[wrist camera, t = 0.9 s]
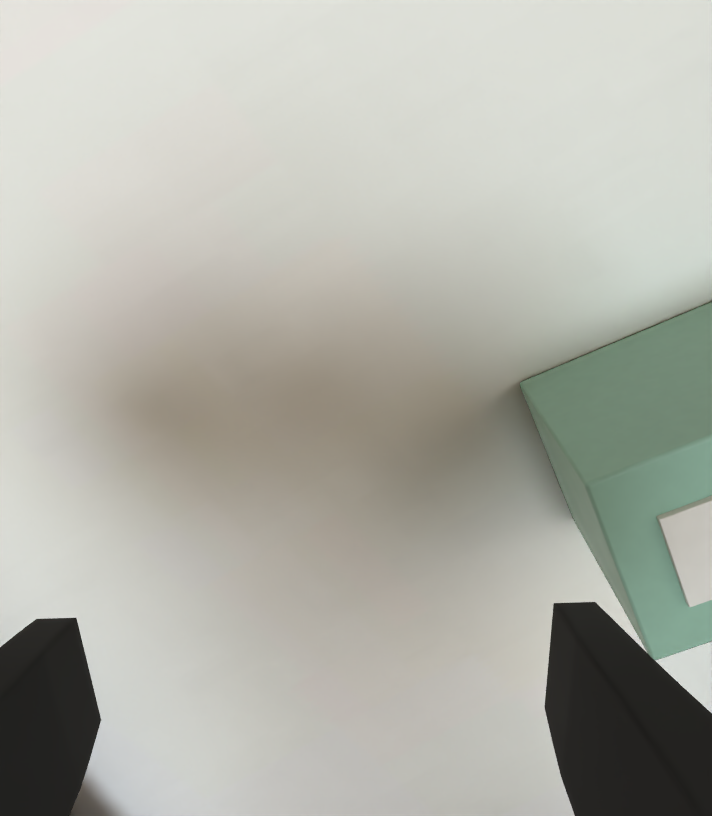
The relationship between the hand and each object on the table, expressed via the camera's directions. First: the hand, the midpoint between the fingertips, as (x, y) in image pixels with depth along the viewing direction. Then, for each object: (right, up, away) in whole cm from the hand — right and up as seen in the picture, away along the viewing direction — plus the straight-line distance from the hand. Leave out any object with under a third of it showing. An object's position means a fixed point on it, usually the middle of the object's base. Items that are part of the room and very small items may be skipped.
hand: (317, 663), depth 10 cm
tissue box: (+9, +4, +9) cm, 14 cm away
